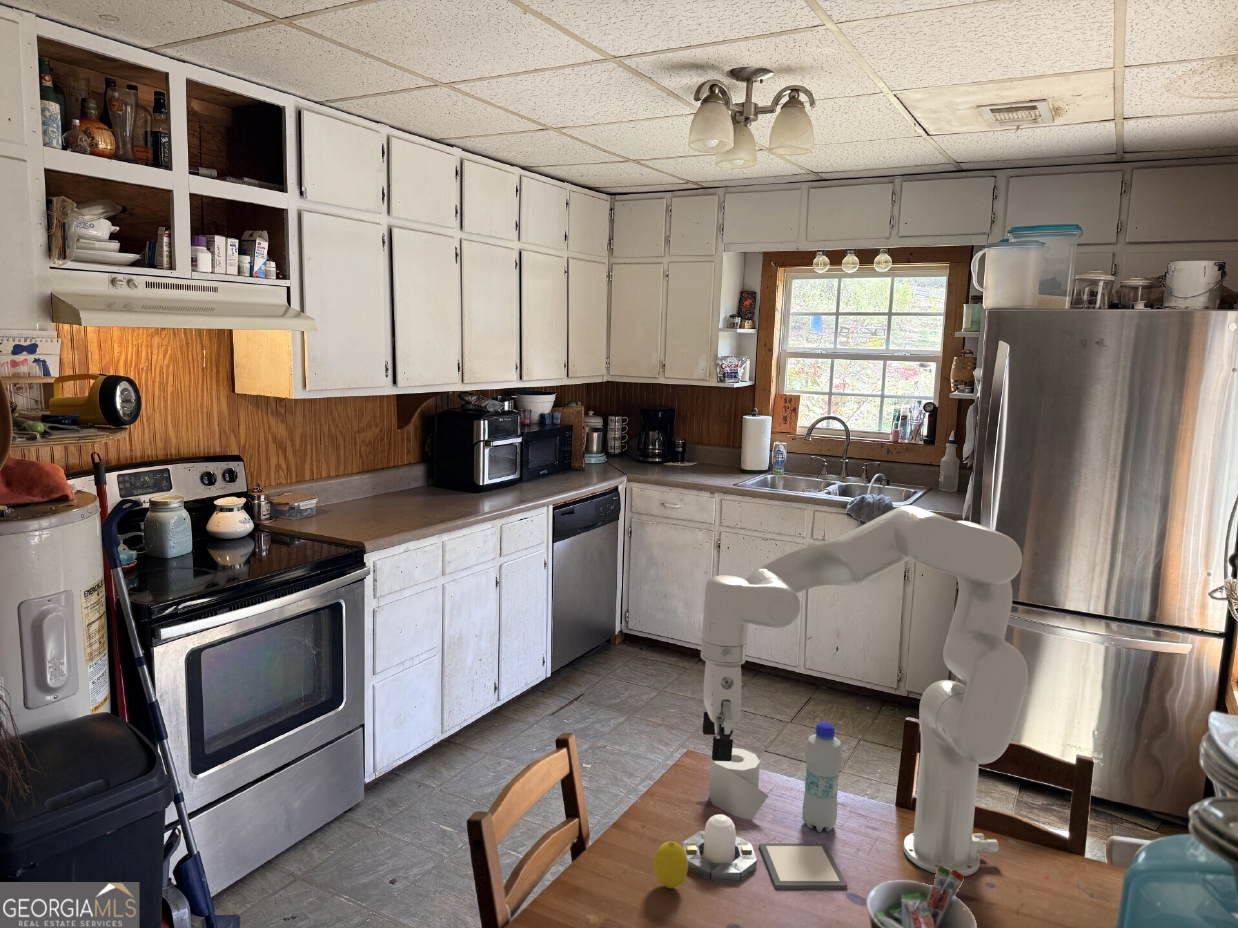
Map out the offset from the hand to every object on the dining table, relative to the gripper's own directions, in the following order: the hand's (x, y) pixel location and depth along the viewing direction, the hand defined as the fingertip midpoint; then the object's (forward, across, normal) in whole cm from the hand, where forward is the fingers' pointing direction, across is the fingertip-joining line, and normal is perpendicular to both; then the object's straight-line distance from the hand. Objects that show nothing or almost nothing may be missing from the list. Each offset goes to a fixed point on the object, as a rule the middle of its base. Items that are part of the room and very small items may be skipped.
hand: (716, 746), depth 140 cm
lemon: (+21, -8, +8) cm, 24 cm away
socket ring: (+20, 0, -2) cm, 20 cm away
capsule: (+21, 0, -2) cm, 21 cm away
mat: (+20, -2, -16) cm, 26 cm away
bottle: (+20, +11, -23) cm, 32 cm away
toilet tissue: (+20, +19, -9) cm, 29 cm away
